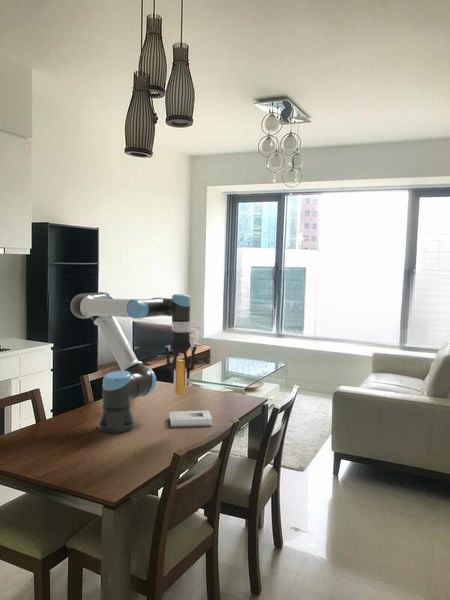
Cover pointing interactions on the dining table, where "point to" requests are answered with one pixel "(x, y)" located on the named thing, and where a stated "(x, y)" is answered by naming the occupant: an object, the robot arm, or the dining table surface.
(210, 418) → the white peg hole block
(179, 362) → the pin
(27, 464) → the dining table surface
